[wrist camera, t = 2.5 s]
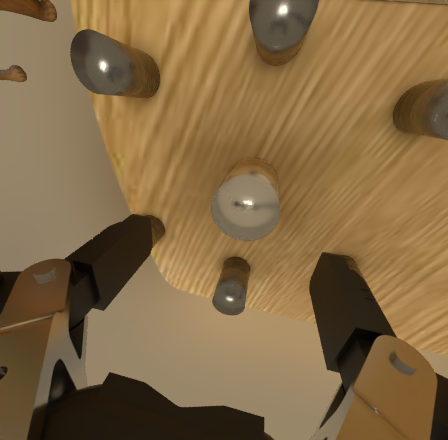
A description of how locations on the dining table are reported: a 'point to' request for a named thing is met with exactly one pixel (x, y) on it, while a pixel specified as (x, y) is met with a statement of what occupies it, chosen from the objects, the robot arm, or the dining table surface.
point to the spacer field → (272, 54)
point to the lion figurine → (31, 6)
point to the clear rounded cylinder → (247, 200)
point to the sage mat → (425, 1)
